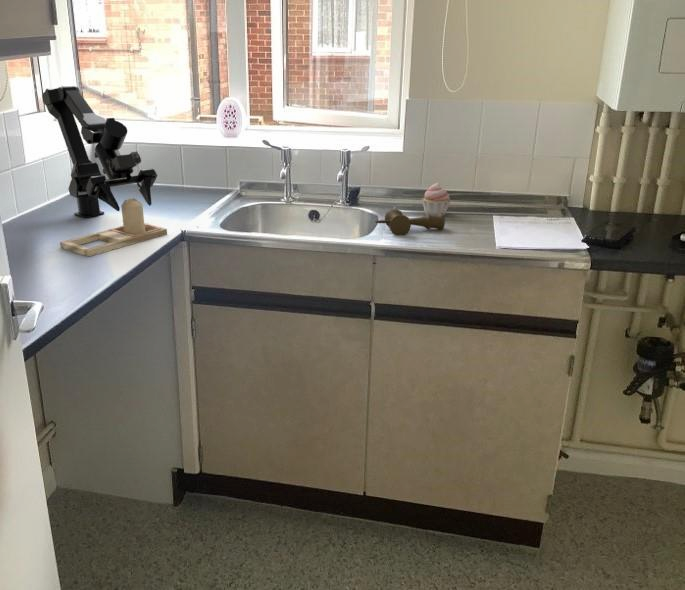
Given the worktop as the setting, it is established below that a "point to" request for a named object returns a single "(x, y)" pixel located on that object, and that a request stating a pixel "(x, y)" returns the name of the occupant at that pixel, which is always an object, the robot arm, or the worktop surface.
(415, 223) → the kendama
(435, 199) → the cupcake
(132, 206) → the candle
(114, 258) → the worktop surface
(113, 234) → the rail frame
